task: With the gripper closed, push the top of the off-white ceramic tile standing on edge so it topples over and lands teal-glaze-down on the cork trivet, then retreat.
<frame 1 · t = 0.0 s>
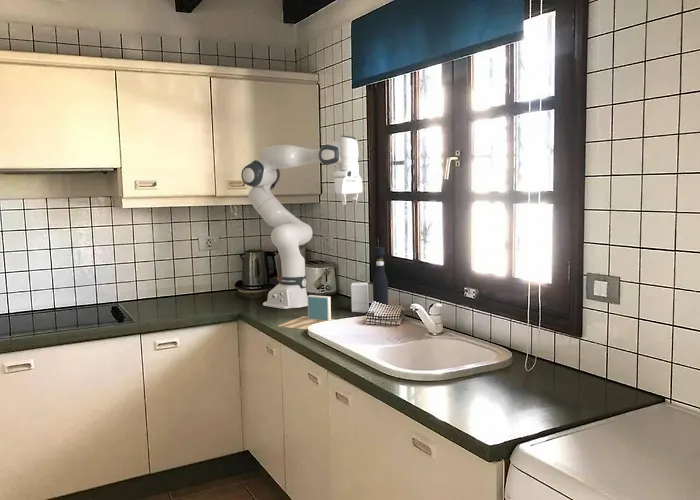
hand: (349, 204, 287), 48 cm above the worktop, fingers open, 8 cm apart
trivet: (310, 324, 266), on the worktop
tile: (319, 319, 272), point 1 cm above the worktop, touching trivet
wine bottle: (380, 316, 279), on the worktop
supplement box: (360, 311, 290), on the worktop
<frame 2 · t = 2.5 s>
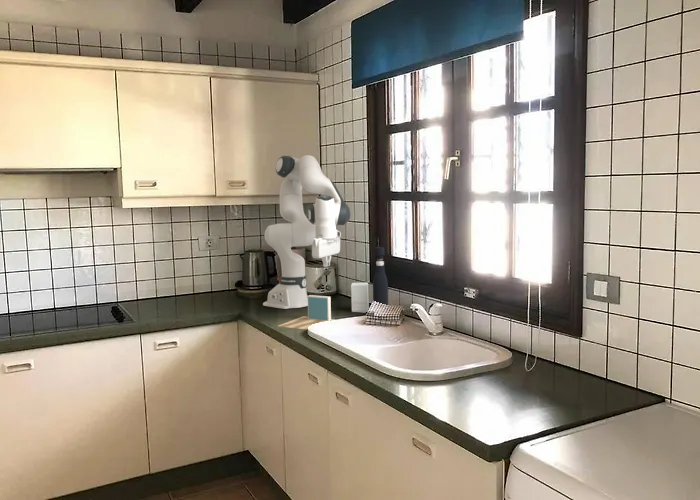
hand: (326, 266, 276), 22 cm above the worktop, fingers closed
nothing on the worktop moved.
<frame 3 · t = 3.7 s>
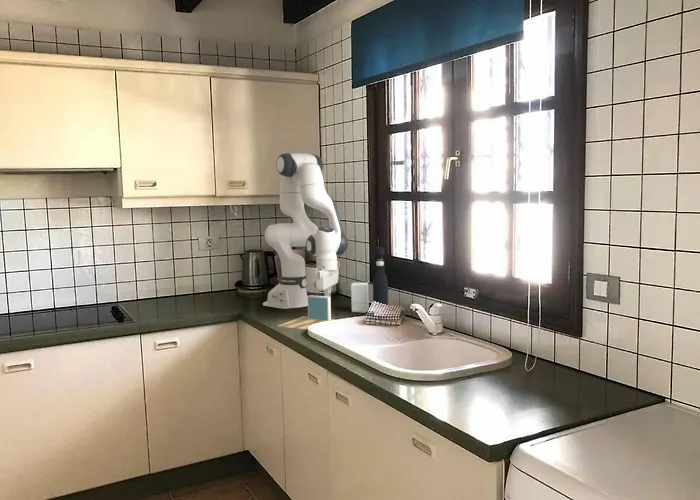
hand: (327, 297, 278), 9 cm above the worktop, fingers closed
nothing on the worktop moved.
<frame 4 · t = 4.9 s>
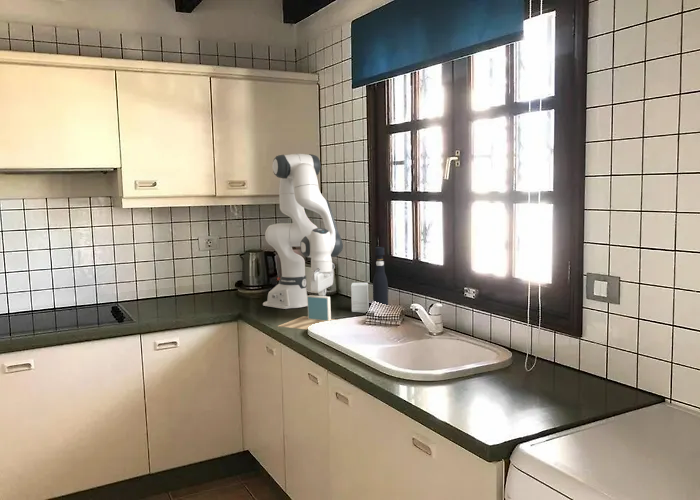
hand: (322, 299, 274), 9 cm above the worktop, fingers closed
tile: (319, 319, 272), point 1 cm above the worktop, touching gripper, trivet
everything else where it was.
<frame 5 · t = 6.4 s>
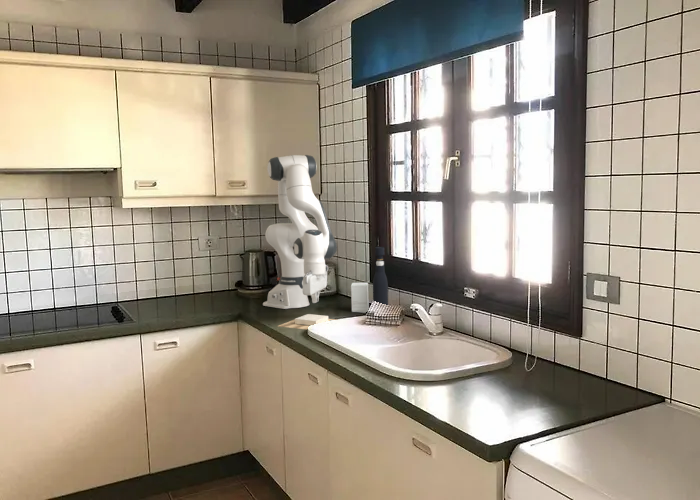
hand: (315, 302, 269), 9 cm above the worktop, fingers closed
tile: (318, 317, 271), point 2 cm above the worktop, tilted 90°, touching trivet
everything else where it was.
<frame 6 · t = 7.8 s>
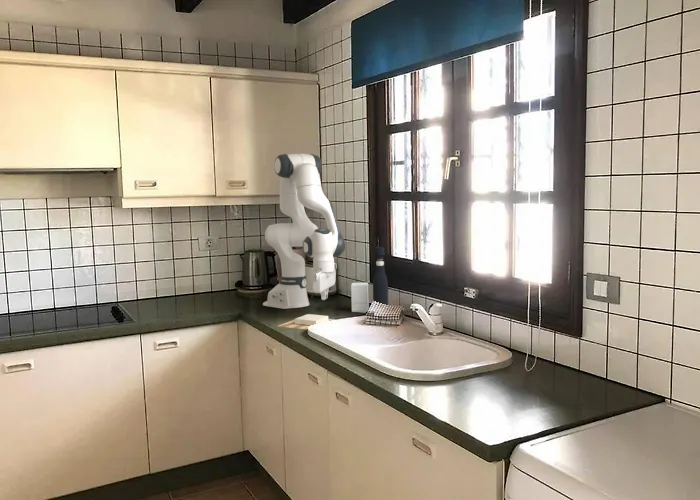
hand: (324, 299, 276), 8 cm above the worktop, fingers closed
nothing on the worktop moved.
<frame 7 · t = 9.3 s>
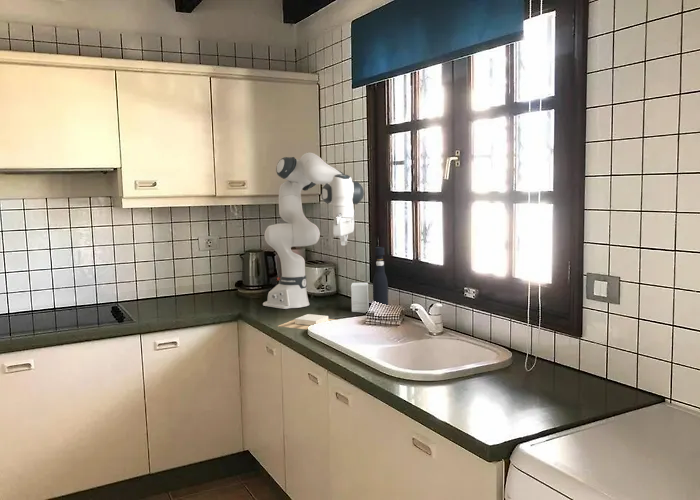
hand: (343, 245, 277), 31 cm above the worktop, fingers closed
nothing on the worktop moved.
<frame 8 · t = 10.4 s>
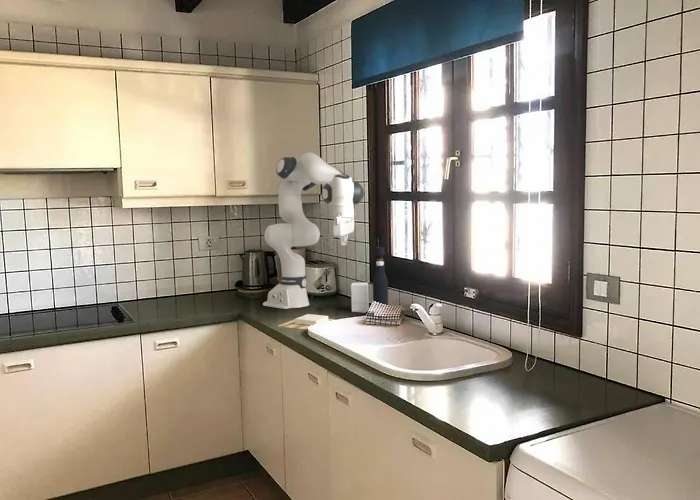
hand: (344, 245, 277), 31 cm above the worktop, fingers closed
nothing on the worktop moved.
at the end: tile tilted 90°; tile inside the target area on the trivet (5.8 cm from its centre), point 1.8 cm above the trivet's base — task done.
